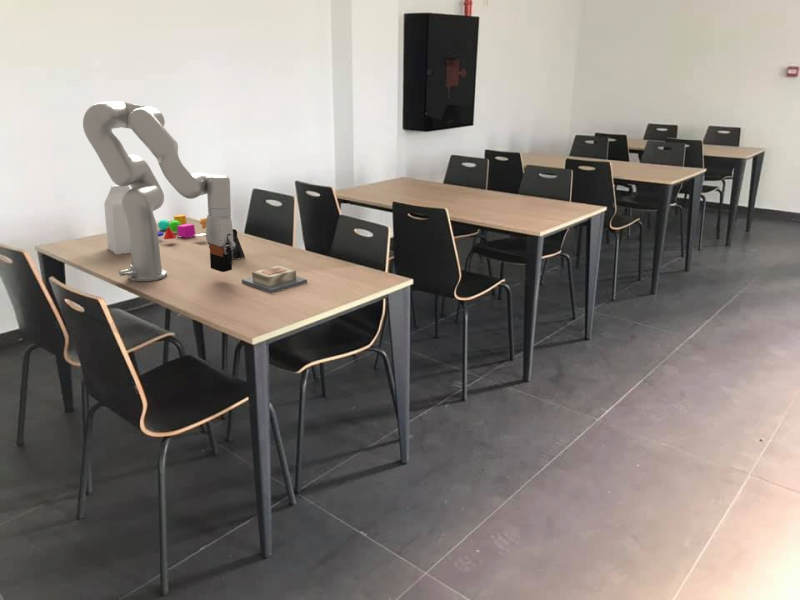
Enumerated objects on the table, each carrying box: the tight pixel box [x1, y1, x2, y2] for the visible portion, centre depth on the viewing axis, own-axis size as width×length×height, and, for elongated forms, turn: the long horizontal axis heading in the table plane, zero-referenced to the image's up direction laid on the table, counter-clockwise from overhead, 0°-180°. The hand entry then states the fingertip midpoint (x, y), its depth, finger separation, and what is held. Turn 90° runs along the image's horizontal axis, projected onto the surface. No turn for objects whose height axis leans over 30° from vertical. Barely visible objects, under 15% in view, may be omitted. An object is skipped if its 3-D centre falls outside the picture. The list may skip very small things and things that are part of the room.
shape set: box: [157, 214, 207, 240], centre depth 279 cm, size 29×35×7 cm
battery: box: [209, 243, 233, 273], centre depth 220 cm, size 4×7×10 cm, turn 56°
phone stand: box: [232, 228, 246, 261], centre depth 247 cm, size 9×6×12 cm, turn 140°
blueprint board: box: [241, 275, 308, 294], centre depth 221 cm, size 16×16×1 cm
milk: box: [103, 184, 131, 255], centre depth 253 cm, size 12×12×26 cm
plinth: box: [251, 264, 297, 286], centre depth 220 cm, size 12×9×3 cm
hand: (221, 261), depth 220 cm, fingers closed on battery, 7 cm apart
